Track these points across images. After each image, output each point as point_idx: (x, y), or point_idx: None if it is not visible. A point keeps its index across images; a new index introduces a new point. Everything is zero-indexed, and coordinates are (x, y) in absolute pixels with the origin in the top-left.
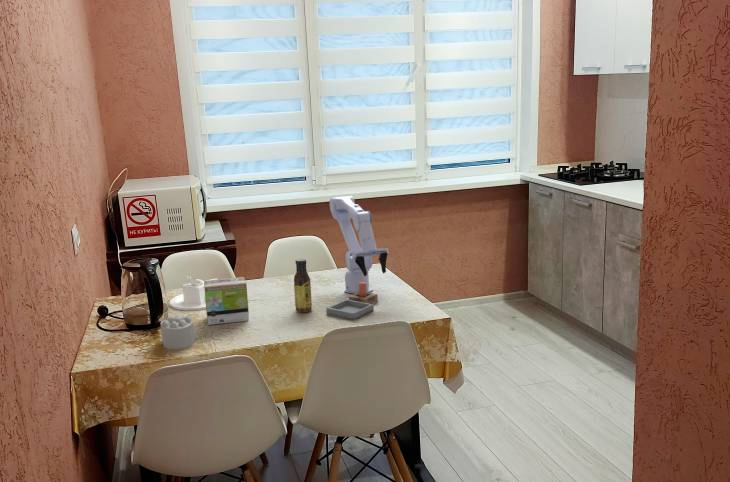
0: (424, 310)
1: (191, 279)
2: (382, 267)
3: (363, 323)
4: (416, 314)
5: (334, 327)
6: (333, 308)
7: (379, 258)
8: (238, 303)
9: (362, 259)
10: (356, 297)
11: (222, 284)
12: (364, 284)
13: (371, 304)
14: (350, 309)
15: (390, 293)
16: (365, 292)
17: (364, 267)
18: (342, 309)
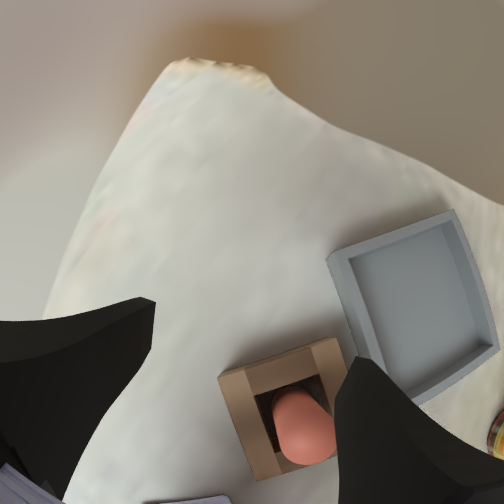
0: (157, 132)
1: None
2: (122, 362)
3: (422, 169)
4: (211, 117)
5: (498, 208)
6: (468, 358)
7: (56, 477)
8: None
9: (460, 462)
10: None
11: None
12: (312, 410)
13: (341, 258)
14: (410, 329)
15: (101, 420)
16: (296, 398)
17: (396, 399)
18: (433, 351)
